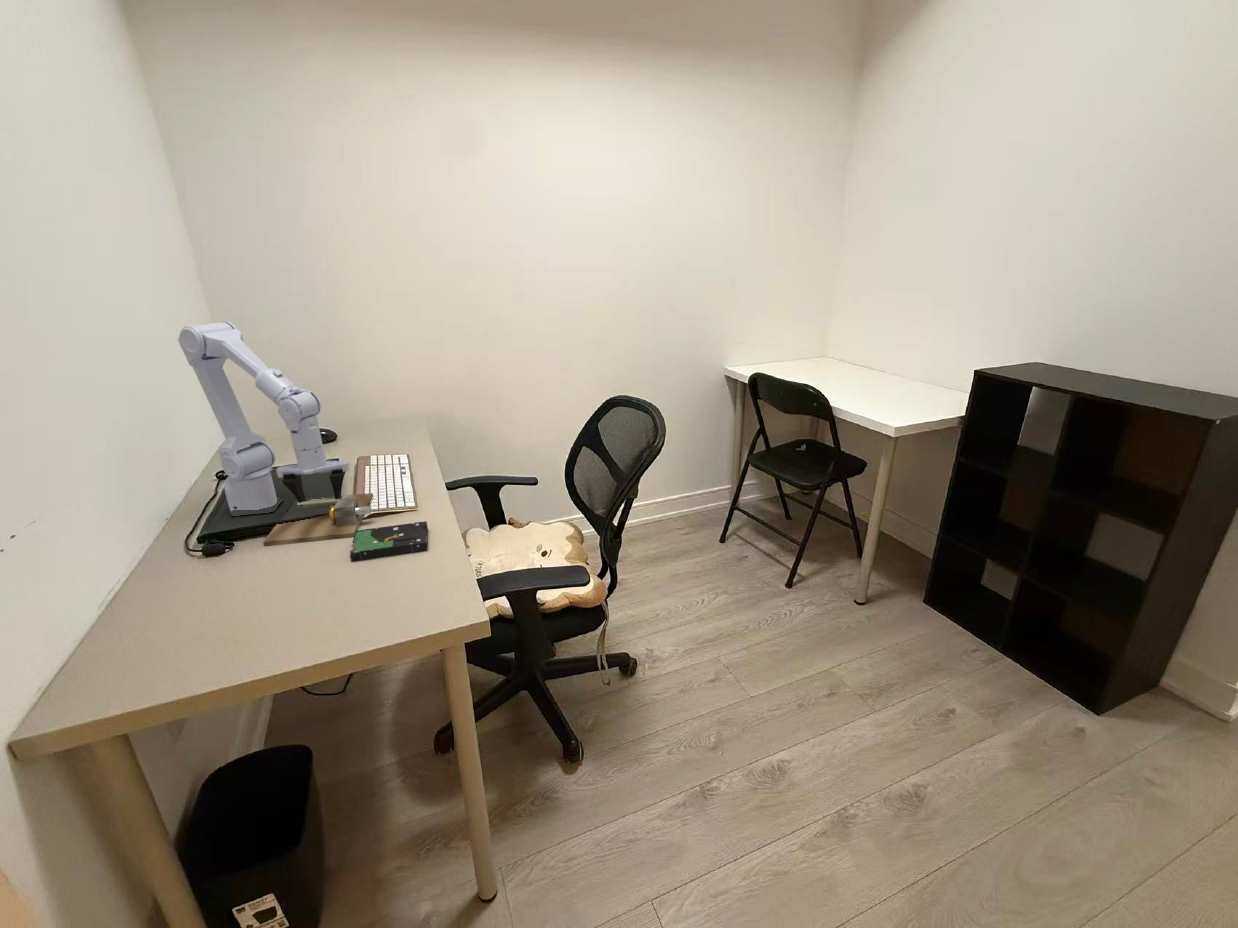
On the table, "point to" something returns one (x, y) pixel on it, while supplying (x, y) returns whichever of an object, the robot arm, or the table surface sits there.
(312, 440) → the robot arm
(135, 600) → the table surface
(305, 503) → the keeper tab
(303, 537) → the board
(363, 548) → the disk drive
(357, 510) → the pin
